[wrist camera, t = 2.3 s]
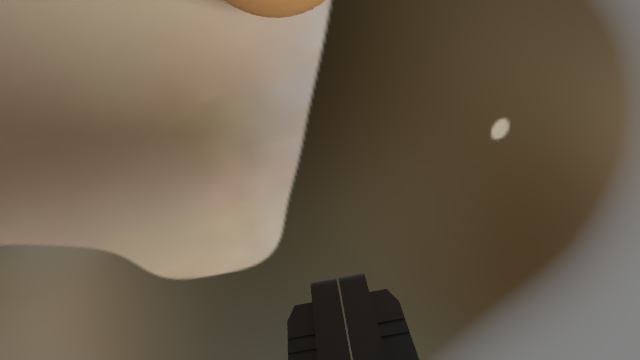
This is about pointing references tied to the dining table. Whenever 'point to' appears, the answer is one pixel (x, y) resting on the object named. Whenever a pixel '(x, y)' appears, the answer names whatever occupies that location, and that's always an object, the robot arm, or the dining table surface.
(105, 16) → the dining table surface
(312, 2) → the ball
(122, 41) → the dining table surface
